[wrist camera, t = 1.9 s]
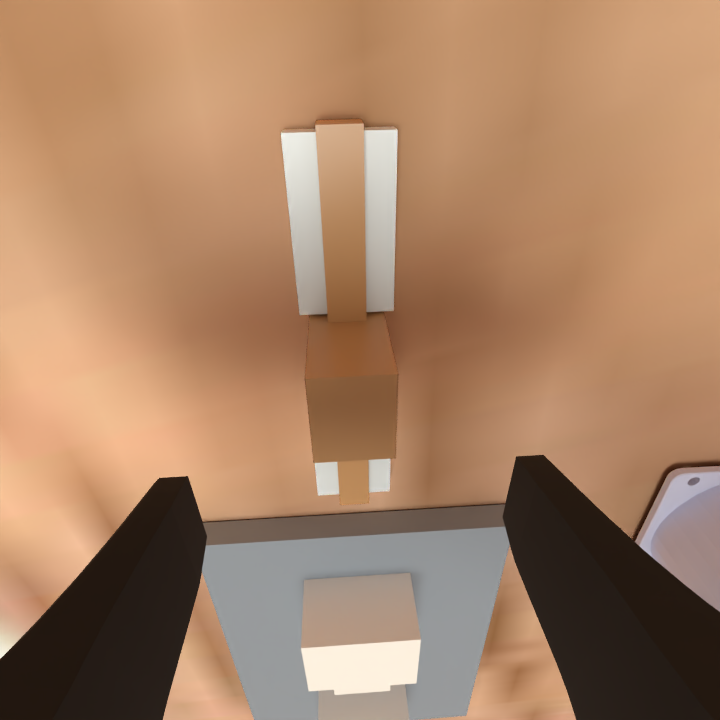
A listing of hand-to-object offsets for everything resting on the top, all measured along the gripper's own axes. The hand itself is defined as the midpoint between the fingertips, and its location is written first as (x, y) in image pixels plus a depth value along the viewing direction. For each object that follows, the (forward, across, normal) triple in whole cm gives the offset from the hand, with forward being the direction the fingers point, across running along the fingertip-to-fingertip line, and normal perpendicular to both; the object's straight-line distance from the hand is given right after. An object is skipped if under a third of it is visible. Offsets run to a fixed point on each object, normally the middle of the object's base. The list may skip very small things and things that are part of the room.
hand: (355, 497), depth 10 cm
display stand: (+7, 0, +19) cm, 20 cm away
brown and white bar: (+7, 0, 0) cm, 7 cm away
